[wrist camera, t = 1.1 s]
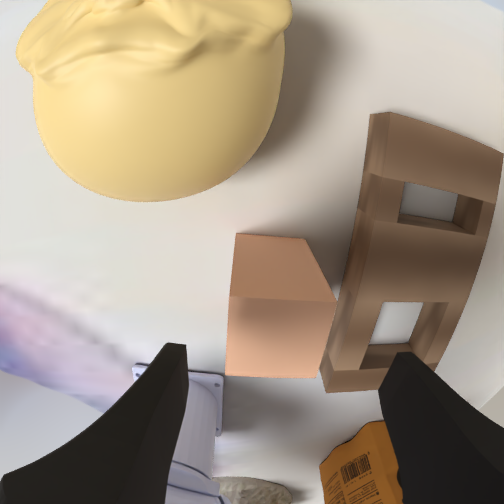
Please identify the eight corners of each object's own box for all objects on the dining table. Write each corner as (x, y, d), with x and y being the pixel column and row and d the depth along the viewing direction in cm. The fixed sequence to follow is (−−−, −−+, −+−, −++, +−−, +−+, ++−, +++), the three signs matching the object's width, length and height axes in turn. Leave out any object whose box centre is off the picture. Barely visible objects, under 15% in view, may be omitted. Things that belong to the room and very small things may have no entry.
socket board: (415, 362, 24) (427, 382, 22) (319, 367, 24) (325, 392, 21) (478, 148, 17) (503, 153, 14) (369, 114, 17) (390, 112, 14)
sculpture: (279, 10, 14) (309, -94, 4) (264, 188, 18) (286, 254, 8) (107, 17, 14) (13, -42, 4) (94, 183, 18) (-19, 234, 8)
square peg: (294, 298, 21) (315, 377, 14) (231, 294, 21) (224, 375, 14) (304, 239, 20) (337, 302, 12) (235, 233, 19) (229, 295, 12)
